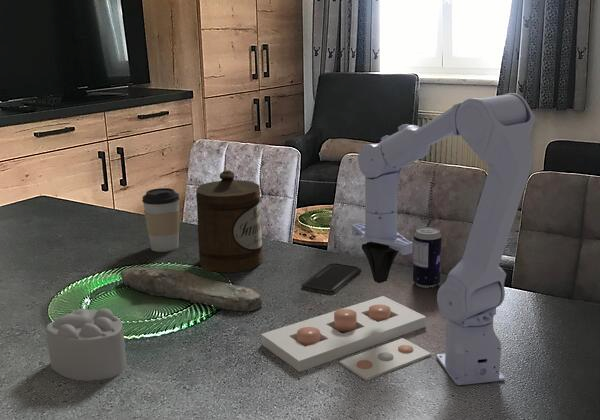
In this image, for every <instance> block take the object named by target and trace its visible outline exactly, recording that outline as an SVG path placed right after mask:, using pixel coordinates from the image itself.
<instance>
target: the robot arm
mask: <svg viewBox="0 0 600 420" xmlns="http://www.w3.org/2000/svg"><path fill="white" fill-rule="evenodd" d="M535 120H536V116H535V114H534V112H533V111H532V109H531V107H530V105H529V103H528V102H527V101H526V99H525V98H524V97H523V96H522V95H520V94H518V93H515V92H509V93H504V94H502V95H495V96H487V97H481V98H480V97H473V98H472V97H471V98H467V99H465V100H464V101H462V102H459V103H455V104H453V105H452V106H451V107H450V108H448V109H447V110H445V111H444V112H442V113H441V114H439V115H437V116H436V117H435V118H433V119H431V120H430V121H428V122H426V123H425V124H423V125H422V126H419V125H415V124H409V123H406V124H401V125H400V126H398V127H397V129H398V130H397V132H394V133H393V134H391V135H385V136H382V137H381V138H380V140H381V141H379V142H378V143H366V144H365V145H363V146H362V147H361V149H360V150H359V153H358V156H357V161H358V162H357V163H358V168H359V170H360V172H361V173H362V175H364V176H365V177H364V178H365V179H364V223H360V222H358V223H354V224H352V225H351V235H352V236H354V237H355V236H359V237H360V240H361V241H363V242H365V243H363V244H361V249H362V251H363V253H364V254H365V257H366V258H367V261H368V263H369V267H370V270H371V275H372V279H373V281H374V282H375V283H377V284H383V283H385V282H387V281H388V278H389V274H390V271H391V267H392V264H393V263H394V260H395V259H396V257H397V255H398V254H399V253H400V254H401V255H403V256H406V255H410V254H413V251H414V241H413V242H412V241H410V240H408V239H407V238H405V237H404V236H403V235H401V234H400V233H399V232H398V193H399V192H398V191H399V190H398V189H399V183H400V181H401V175H402V172H403V171H404V169H405V167H407V166H408V165H410V164H413V163H415V162H417V161H419V160H421V159H423V158H424V157H427V155H428V154H429V153H430V148H431V146H432V145H434V144H436V143H439V142H440V141H443V140H445V139H448V138H450V137H453V136H460V137H461V138H462V140H464V142H465V143H466V144H467V145H468V146H469V147H470V149H471V150H472V151H473V152H474V154H476V155H477V156H478V157H479V159H480V160H481V161H482V162H483V163H485V164H487V167H488V173H487V175H486V178H485V182H484V185H483V188H482V193H481V195H480V198H479V203H478V205H477V209H476V211H475V212H476V213H475V215H474V218H473V221H472V225H471V228H470V233H469V236H468V239H467V242H466V245H465V249H464V253H463V256H462V257H461V260H460V261H459V262H457V264H456V265H455V266H454V267H453V268H452V269H451V270H450V271H449V272H448V274H447V277H446V281H444V283H443V284H442V285H441V286H440V287H439V288H438V290H437V293H436V300H437V305H438V309H439V311H440V313H442V315H443V318H444V319H445V320H446V328H445V329H446V330H445V331H446V333H445V352H444V353H437V354H436V356H435V358H436V359H437V360H438V361H439V363H440V364H441V366H442V367H443V369H444V370H445V371H446V372H447V374H448V375H449V377H450V378H451V380H452V381H453V382H454V383H455V385H457V386H464V385H474V384H483V383H491V382H503V381H505V376H504V375H503V373H502V372H501V371H500V370H501V368H500V367H501V355H502V344H501V341H500V339H499V337H498V335H497V334H496V331H495V329H494V316H496V314H497V308H498V307H500V306H501V305H502V304H503V302H504V300H505V296H506V290H505V280H506V279H507V278H506V277H507V273H506V272H505V270H504V269H503V268H502V267H501V266H500V264H501V260H502V258H503V255H504V251H505V249H506V245H507V243H508V239H509V237H510V234H511V231H512V226H513V225H514V221H515V218H516V216H517V212H518V209H519V207H520V203H521V200H522V197H523V195H524V192H525V189H526V185H527V181H528V178H529V176H530V172H531V170H532V166H533V154H532V153H533V152H532V151H533V150H532V139H531V138H532V137H531V132H532V130H533V126H534V123H535Z"/></svg>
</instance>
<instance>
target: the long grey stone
mask: <svg viewBox="0 0 600 420" xmlns="http://www.w3.org/2000/svg"><path fill="white" fill-rule="evenodd" d="M120 277H121V280H122V281H123V282H124V285H125V286H126V287H127V286H129V287H131V288H132V289H135V290H136V291H138V292H143V293H147V294H149V296H156V297H165V298H169V299H171V298H173V299H174V300H176V299H183V300H186V301H190V302H191V303H193V304H194V303H195V302H198V303H200V304H204V305H206V306H207V305H208V306H210V305H213V306H216V307H215V308H217V307H219V308H218V309H222V310H228V311H232V310H233V311H234V312H236V311H240V312H250V311H251V312H252V311H256V310H258V309H261V307H262V306H263V299H262V296H261V294H259V293H258V292H257V291H255V290H253V289H252V288H249V287H245V286H239V285H235V284H231V283H227V282H223V281H217V280H213V279H207V278H204V277H202V276H200V275H199V276H198V275H195V274H193V273H191V272H189V271H187V270H179V269H172V268H168V267H164V268H160V267H141V266H139V267H138V266H136V267H130V268H126V269H124V270H123V272H121V274H120ZM195 304H196V303H195ZM213 306H212V307H213Z"/></svg>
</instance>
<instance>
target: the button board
mask: <svg viewBox="0 0 600 420" xmlns="http://www.w3.org/2000/svg"><path fill="white" fill-rule="evenodd" d="M372 305H386V306H388V307H390V309H391V312H390V318H389V319H386V320H383V321H380V322H377V321H375V320H373V319H371V318H369V307H370V306H372ZM342 309H350V310H353V311H355V312H356V314H357V327H356V329H354V330H352V331H346V332H344V333H342V332H341V331H339V330H337V329H335V328H334V312H335V311H337V310H338V309H336V310H333V311H330V312H328V313H324V314H322V315H318V316H314V317H311V318H308V319H305V320H301V321H299V322H295V323H292V324H289V325H285V326H283V327H279V328H276V329H273V330H269V331H267V332H263V333H261V334H260V335H261V336H260V339H261V345H262V346H263V347H265V348H266V349H267V350H268V351H270V352H272V353H273V354H274V355H275V356H276V357H278V358H279V359H281V360H282V361H283V362H285V363H287V364H288V365H289V366H290V367H292V368H293V369H294V370H296V371H297V372H299V373H301V372H303V371H306V370H309V369H312V368H315V367H318V366H321V365H323V364H326V363H329V362H331V361H334V360H337V359H339V358H342V357H346V356H348V355H351V354H354V353H356V352H359V351H362V350H365V349H367V348H370V347H373V346H375V345H378V344H381V343H384V342H387V341H390V340H392V339H395V338H396V339H397V338H398V337H400V336H404V335H406V334H409V333H413V332H415V331H417V330H421V329H423V328H425V327H426V325H427V316H426V315H423V314H421V313H419V312H417V311H415V310H413V309H412V308H409V307H407V306H405V305H403V304H400V303H399V302H397V301H394V300H393V299H391V298H389V297H387V296H384V295H381V296H378V297H375V298H372V299H369V300H365V301H362V302H360V303H356V304H354V305H353V304H352V305H349V306H347V307H346V306H345V307H344V308H342ZM304 327H314V328H317V329H319V330H320V342H318V343H315V344H312V345H309V346H306V347H304V346H303V345H301V344H300V343H298V342H297V331H298V330H299V329H301V328H304Z"/></svg>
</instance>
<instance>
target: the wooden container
mask: <svg viewBox="0 0 600 420" xmlns="http://www.w3.org/2000/svg"><path fill="white" fill-rule="evenodd" d="M219 178H220V179H221V180H216V181H210V182H206V183H203V184H201V185H199V186H197V187H196V191H195V193H196V194H195V195H196V197H195V198H196V211H197V212H196V214H197V216H196V217H197V238H198V239H197V241H198V254H199V255H198V256H199V265H200V266H201V267H202V268H203V269H205V270H208V271H210V270H211V272H216V273H238V272H243V271H248V270H251V269H254V268H255V267H259V265H261V264H262V263H263V262H262V261H263V229H262V228H263V227H262V216H261V215H262V214H261V213H262V211H261V201H260V200H261V191H260V185H259V184H258V183H257V182H256V183H255V182H253V181H248V180H236V179H234V178H235V173H234V172H233V171H231V170H223V171H222V172H221V173H219Z"/></svg>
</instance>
